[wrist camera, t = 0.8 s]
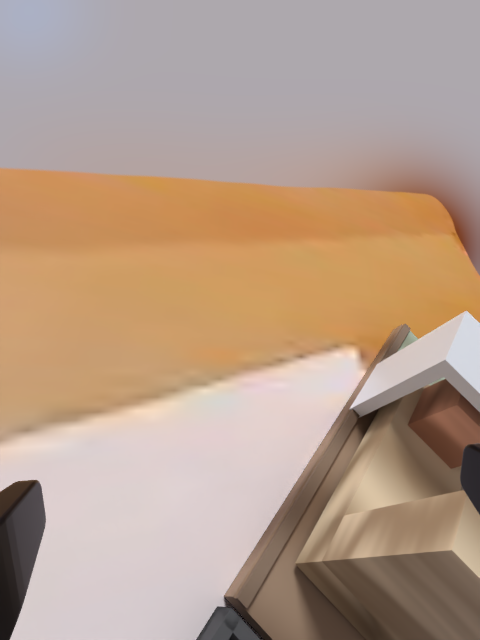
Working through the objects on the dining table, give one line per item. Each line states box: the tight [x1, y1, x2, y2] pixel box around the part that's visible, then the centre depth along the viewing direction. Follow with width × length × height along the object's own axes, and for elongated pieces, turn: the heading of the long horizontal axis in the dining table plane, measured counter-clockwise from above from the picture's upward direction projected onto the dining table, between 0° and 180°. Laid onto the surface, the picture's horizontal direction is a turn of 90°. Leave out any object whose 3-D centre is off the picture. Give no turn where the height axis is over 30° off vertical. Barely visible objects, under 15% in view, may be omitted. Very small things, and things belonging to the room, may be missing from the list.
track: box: [224, 324, 445, 640], centre depth 26 cm, size 24×9×1 cm, turn 140°
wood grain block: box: [295, 379, 480, 640], centre depth 21 cm, size 14×6×9 cm, turn 140°
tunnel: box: [349, 311, 480, 490], centre depth 25 cm, size 5×9×8 cm, turn 50°
